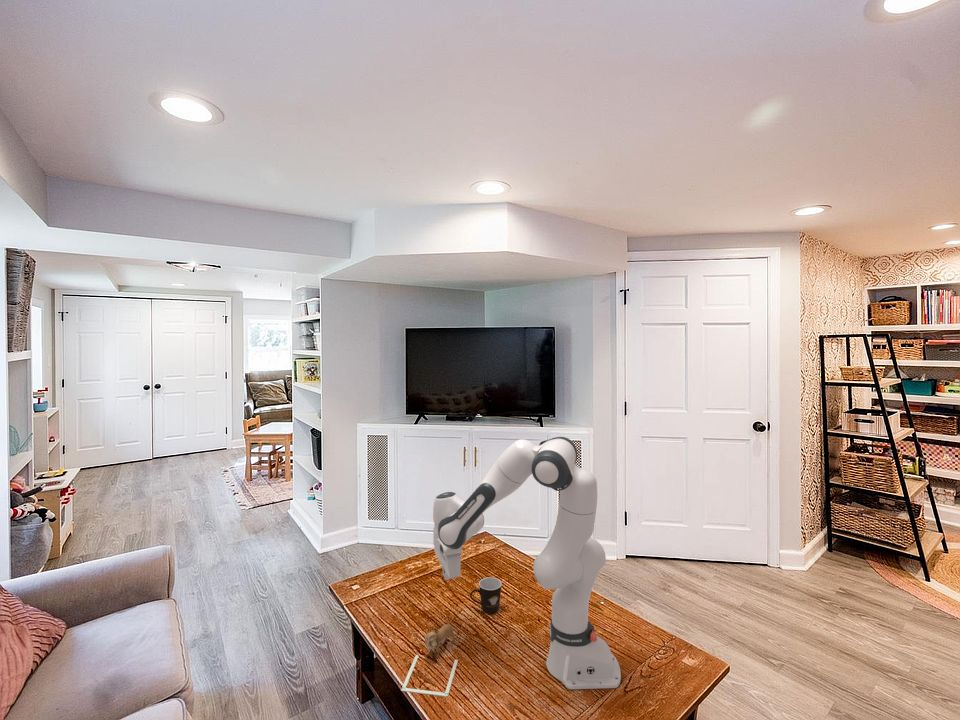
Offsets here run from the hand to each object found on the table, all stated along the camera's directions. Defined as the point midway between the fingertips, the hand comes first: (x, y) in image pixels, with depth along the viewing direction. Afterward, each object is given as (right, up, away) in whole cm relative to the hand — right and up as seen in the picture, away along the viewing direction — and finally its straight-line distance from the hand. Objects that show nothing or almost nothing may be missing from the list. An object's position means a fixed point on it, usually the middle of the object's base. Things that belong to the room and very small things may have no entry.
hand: (446, 577), depth 157 cm
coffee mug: (+14, -19, +13) cm, 27 cm away
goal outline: (-3, -20, -19) cm, 28 cm away
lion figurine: (-1, -20, -9) cm, 22 cm away
